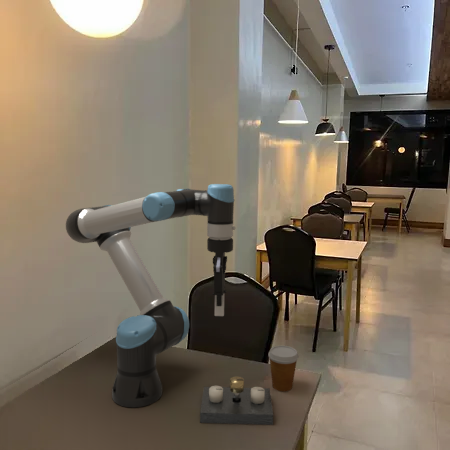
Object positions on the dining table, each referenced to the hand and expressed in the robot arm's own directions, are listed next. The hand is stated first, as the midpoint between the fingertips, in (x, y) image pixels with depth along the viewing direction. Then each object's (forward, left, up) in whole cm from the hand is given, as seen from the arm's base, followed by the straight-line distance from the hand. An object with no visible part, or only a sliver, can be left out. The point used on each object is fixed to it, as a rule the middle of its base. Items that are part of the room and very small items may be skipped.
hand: (219, 315), depth 133 cm
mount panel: (+8, -5, -26) cm, 27 cm away
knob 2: (+14, -3, -26) cm, 29 cm away
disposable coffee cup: (+17, +13, -26) cm, 33 cm away
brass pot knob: (+8, -5, -23) cm, 24 cm away
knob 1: (+2, -7, -26) cm, 27 cm away
